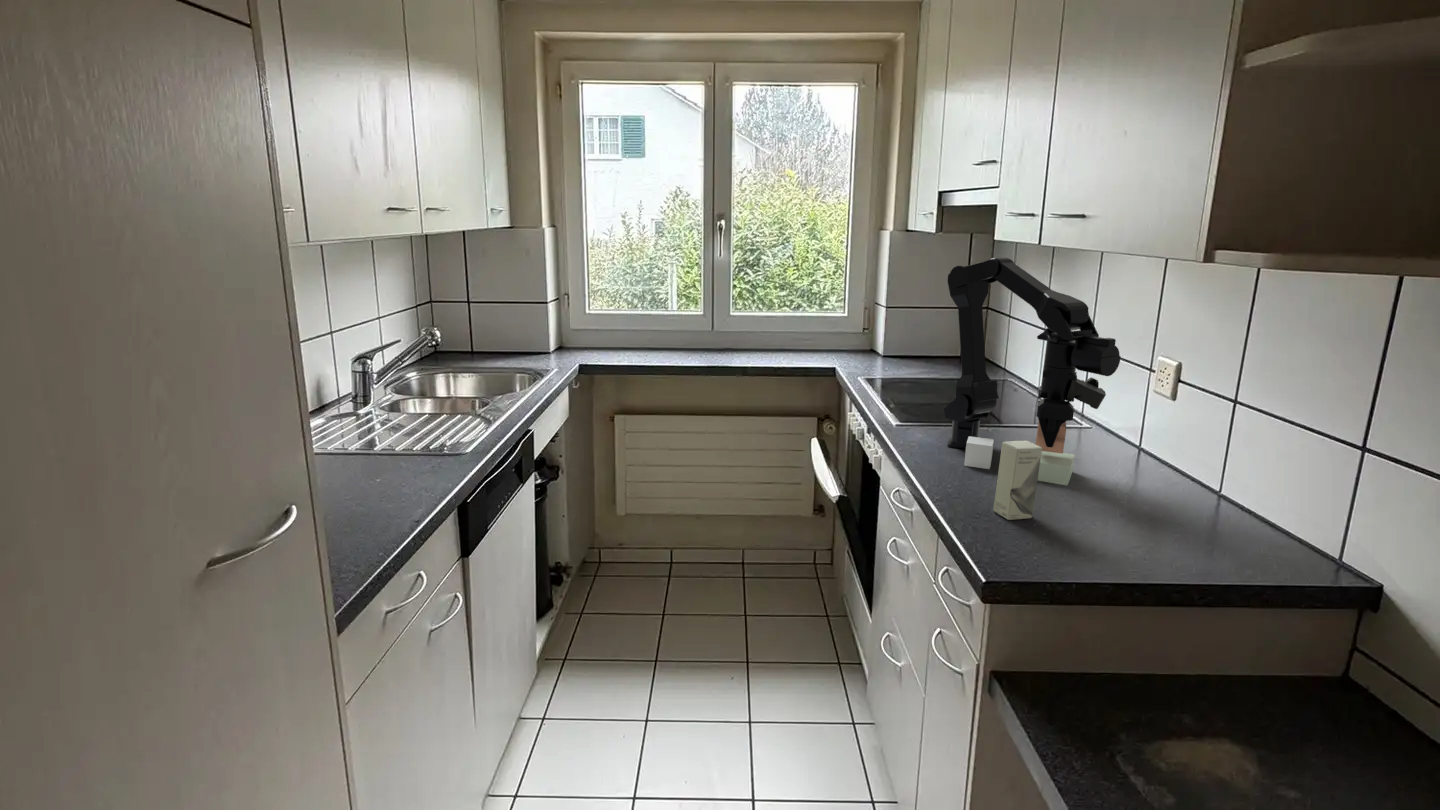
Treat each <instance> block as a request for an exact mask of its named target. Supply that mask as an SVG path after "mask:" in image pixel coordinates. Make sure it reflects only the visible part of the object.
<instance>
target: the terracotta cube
mask: <svg viewBox="0 0 1440 810" xmlns="http://www.w3.org/2000/svg"><path fill="white" fill-rule="evenodd" d="M1036 431H1037V432H1036V437H1035V438H1036V439H1035V445H1038V446H1040V447H1042V451H1046V452H1054V453H1062V454H1063V453H1064V448H1065V442H1066V434H1067V421H1066V422H1064V423H1063V424H1062V425H1061V427H1060V429H1059V432H1058V434H1057V437H1056V439H1055V442H1054V445H1053V447H1047V446H1046V443H1045V440H1044V436H1043V433H1042V430H1041V426H1040V423H1039V421H1038V423H1037V430H1036Z"/></svg>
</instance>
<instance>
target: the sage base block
mask: <svg viewBox="0 0 1440 810" xmlns="http://www.w3.org/2000/svg"><path fill="white" fill-rule="evenodd" d="M1075 457H1076V456H1075V454H1072V453H1066V452H1063V454H1062V453H1054V452H1046V451H1042V453H1041V460H1040V467H1039V473H1038V480H1037V482H1038V481H1039V482H1045V483H1050V484H1056V485H1062V486H1068V485H1069V482H1070V479H1071V476H1072V474H1073V471H1074V464H1075Z"/></svg>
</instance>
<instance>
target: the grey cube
mask: <svg viewBox="0 0 1440 810" xmlns="http://www.w3.org/2000/svg"><path fill="white" fill-rule="evenodd" d="M994 442H995V439H994V438H986V437H985V438H984V437H980V436H978V437H971V436H969V437H968V440H967V443H966V449H965V452H964V453H965V454H964V465H963V466H965V467H972V468H979V469H985V470H990V469H991V465H992V458H993V452H994V444H995V443H994Z"/></svg>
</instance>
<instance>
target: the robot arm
mask: <svg viewBox="0 0 1440 810" xmlns="http://www.w3.org/2000/svg"><path fill="white" fill-rule="evenodd" d="M997 282H998V283H999V284H1001V285H1002V286H1004V287H1005V288H1006V289H1008V290H1009V291H1010V292H1011V293H1013V294H1015V295H1016V296H1017V297H1018V298H1020V299H1021V300H1023V301H1024V302H1025V303H1027V304H1028V305H1029V306H1031V308H1033V310H1035V312H1036V315H1037V317H1038V320H1040V321H1041V322H1042V324H1044V326H1045V327H1046V329H1045V330H1044V331H1043V332H1041V333H1039V334H1038V335H1036V338H1037V340H1040V341H1046V345H1045V352H1044V353H1045V354H1044V361H1043V362H1044V363H1043V367H1042V368H1043V369H1042V374H1041V375H1042V376H1041V385H1040V386H1039V387H1038V394H1037V395H1038V396H1037V399H1041V400H1037V408H1036V417H1037V419H1038V422H1039V423H1040V426H1041V430H1042V433H1043V436H1044V440H1045V443H1046V446H1047V447H1053V445H1054V442H1055V439H1056V437H1057V434H1058V432H1059V429H1060V427H1061V425H1062V424H1063V423H1064V422H1066V423H1067V422H1068V421H1069V422H1070V421H1074V419H1073V418H1074V412H1075V408H1074V405H1072V403H1074V402H1075V400H1077V401H1079V402H1081V403H1083V404H1086V405H1089V406H1090V408H1092V409H1095V410H1098V409H1099V408H1100V407H1101V406H1100V405H1101V404H1102V402H1103V400H1104V399H1105V397H1106V396H1107V393H1106V391H1105V390H1104V389H1103V388H1101V387H1099V380H1098V379H1096V378H1095V377H1094V378H1093V377H1090V378H1088V379H1086V380H1083V379H1082V380H1081V379H1079V378H1078V375H1077V371H1076V370H1078V371H1080V372H1086V373H1091V374H1095V375H1099V376H1103V377H1110V376H1112V375H1113V374H1115V373H1116V371H1117V369H1118V368H1119V365H1120V364H1121V363H1120V362H1121V355H1120V350H1119V348H1118V347H1117V346H1116V338H1113V337H1101V336H1100V335H1099V333H1098V331H1097V328H1096V327H1095V324H1094V322H1093V320H1092V319H1091V316H1090V314H1089V313H1090V312H1089V307H1088V305H1087V304H1086V302H1084V301H1082V300H1080V299H1078V298H1076V297H1073V296H1071V295H1068V294H1065V293H1062V292H1058V291H1056V290H1053V289H1052V288H1050V287H1049V286H1048V285H1046V284H1044V283H1043V282H1041V280H1038V279H1037V278H1036V277H1034V276H1033V275H1032V274H1030V273H1029V272H1027V271H1026V270H1025V269H1023V268H1021V267H1020V266H1018V265H1017V264H1015V262H1014V261H1013V260H1012V259H1011V258H1008V257H992V258H990V259H987V260H985V261H982V262H978V263H974V264H972V265H971V264H969V265H955V266H954V267H953V268H952V269H951V270H950V272H948V274H947V286H948V291H949V292H948V293H949V295H950V297H951V300H952V301H953V303H954V304H955V306H956V307H957V309H958V310H957V313H958V327H959V329H958V331H959V343H960V344H959V346H960V362H961V364H960V365H961V376H960V378H959V380H958V382H957V385H956V387H955V396H954V399H953V400H952V401H951V402H950V403H948V404H947V405H946V406H945V407H944V408H943V412H944V417H945V419H947V420H951V421H952V424H951V425H952V426H951V435H950V436H949V437H950V438H949V440H948V442H947V447H951V448H958V449H965V450H966V443H967V440H968V437H969V436H971V437H979V433H980V423H981V419H982V420H983V419H988V418H989V416H990V415H991V413H992V410H994V409H995V407H997V400H999V399H1000V398H999V395H998V381H997V380H996V379H994V380H992V379H991V378H990V376H989V375H988V373H987V368H986V366H987V365H986V351H985V349H986V348H985V337H984V334H985V333H984V331H985V330H984V315H983V305H984V303H985V301H986V298H987V297H988V294H989V288H990V284H993V283H997ZM1071 402H1072V403H1071Z"/></svg>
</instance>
